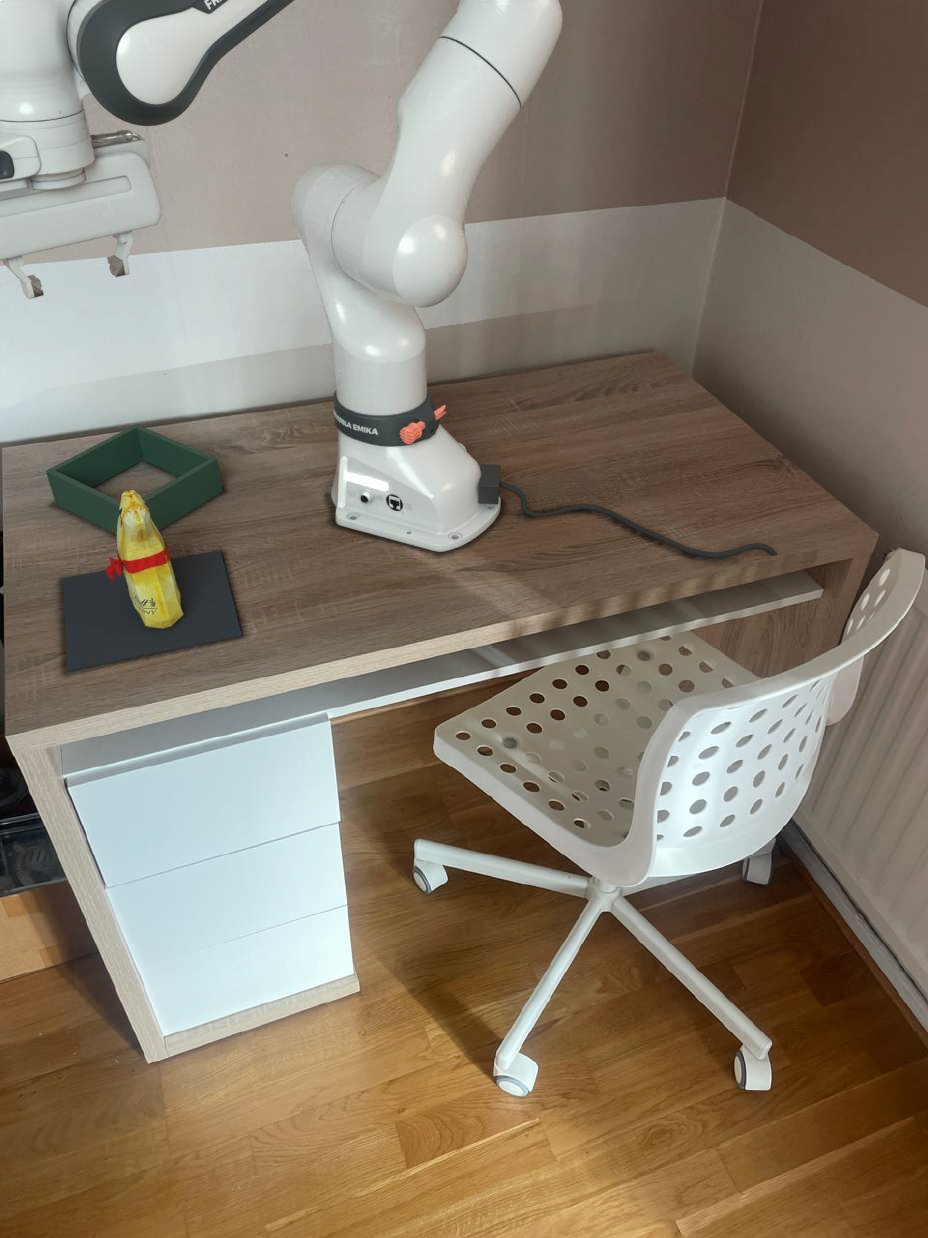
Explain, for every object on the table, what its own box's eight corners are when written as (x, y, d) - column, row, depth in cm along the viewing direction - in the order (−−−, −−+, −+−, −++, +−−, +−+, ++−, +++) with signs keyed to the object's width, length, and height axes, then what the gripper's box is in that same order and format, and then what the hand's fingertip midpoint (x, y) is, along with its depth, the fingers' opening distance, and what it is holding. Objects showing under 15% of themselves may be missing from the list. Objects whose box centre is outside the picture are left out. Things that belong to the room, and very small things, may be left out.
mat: (221, 552, 117) (220, 550, 117) (242, 636, 106) (241, 633, 106) (63, 580, 113) (63, 578, 112) (67, 671, 101) (66, 668, 101)
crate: (223, 491, 127) (217, 458, 124) (136, 545, 118) (128, 510, 115) (143, 456, 134) (136, 423, 131) (55, 504, 125) (45, 470, 121)
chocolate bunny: (167, 570, 114) (141, 459, 104) (192, 625, 106) (167, 511, 97) (107, 586, 111) (75, 474, 102) (129, 644, 104) (97, 528, 94)
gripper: (129, 119, 101) (155, 254, 110) (-77, 153, 90) (-30, 299, 99) (158, 132, 97) (182, 270, 106) (-53, 169, 87) (-7, 319, 96)
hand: (78, 284), depth 103 cm, fingers open, 8 cm apart
